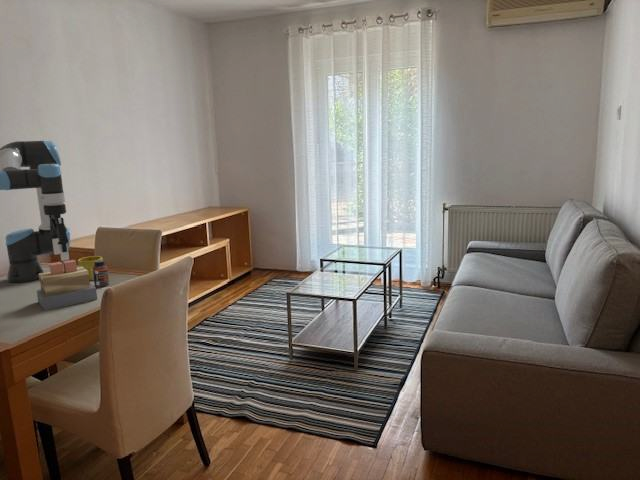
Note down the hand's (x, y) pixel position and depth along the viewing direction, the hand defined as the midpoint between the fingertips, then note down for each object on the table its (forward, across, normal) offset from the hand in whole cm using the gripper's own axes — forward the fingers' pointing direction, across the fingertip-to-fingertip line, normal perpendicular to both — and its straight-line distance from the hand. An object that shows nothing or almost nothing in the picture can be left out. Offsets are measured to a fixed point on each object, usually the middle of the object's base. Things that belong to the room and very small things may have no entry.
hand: (61, 257), depth 189 cm
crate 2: (+6, 0, +2) cm, 7 cm away
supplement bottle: (+19, -13, +16) cm, 28 cm away
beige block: (+13, 0, 0) cm, 13 cm away
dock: (+18, 0, 0) cm, 18 cm away
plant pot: (+19, -29, +16) cm, 38 cm away
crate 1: (+6, 0, -2) cm, 7 cm away
